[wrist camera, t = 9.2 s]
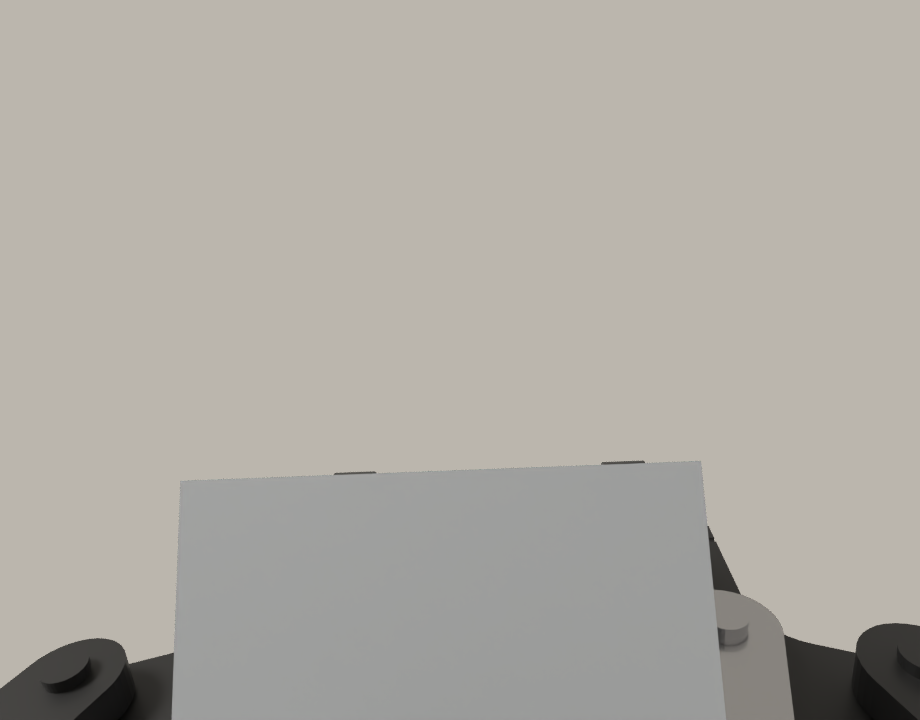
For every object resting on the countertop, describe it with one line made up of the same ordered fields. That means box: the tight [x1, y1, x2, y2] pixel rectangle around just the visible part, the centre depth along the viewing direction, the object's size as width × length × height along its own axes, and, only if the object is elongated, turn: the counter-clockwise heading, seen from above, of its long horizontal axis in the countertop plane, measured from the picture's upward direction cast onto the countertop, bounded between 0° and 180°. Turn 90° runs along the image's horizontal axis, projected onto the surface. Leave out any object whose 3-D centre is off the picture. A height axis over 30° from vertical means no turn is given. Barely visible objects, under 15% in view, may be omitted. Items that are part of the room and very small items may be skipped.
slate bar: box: [172, 461, 726, 720], centre depth 15 cm, size 4×21×4 cm, turn 174°
